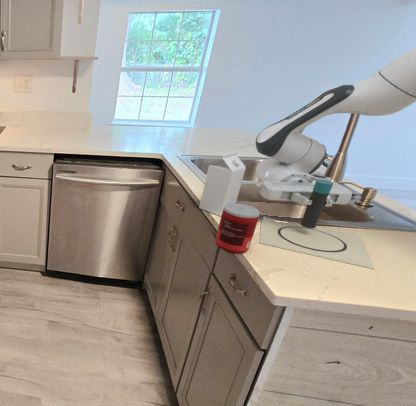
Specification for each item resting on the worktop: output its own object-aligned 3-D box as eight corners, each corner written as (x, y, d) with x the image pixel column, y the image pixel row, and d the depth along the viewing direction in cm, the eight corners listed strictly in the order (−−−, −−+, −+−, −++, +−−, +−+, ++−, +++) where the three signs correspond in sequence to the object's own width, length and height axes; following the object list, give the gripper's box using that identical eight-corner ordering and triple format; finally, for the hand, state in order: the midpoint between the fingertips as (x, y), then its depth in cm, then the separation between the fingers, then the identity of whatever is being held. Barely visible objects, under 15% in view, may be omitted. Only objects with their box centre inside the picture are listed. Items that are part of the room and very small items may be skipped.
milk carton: (198, 208, 120) (211, 152, 112) (211, 204, 123) (225, 149, 115) (220, 216, 114) (235, 158, 106) (233, 211, 117) (249, 154, 109)
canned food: (239, 240, 100) (250, 203, 96) (254, 255, 93) (267, 216, 89) (209, 238, 102) (218, 202, 97) (221, 253, 95) (232, 215, 90)
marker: (315, 225, 101) (332, 181, 96) (316, 229, 99) (333, 185, 93) (299, 222, 103) (315, 178, 98) (300, 226, 101) (316, 182, 95)
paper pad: (360, 235, 101) (360, 234, 100) (374, 269, 86) (374, 267, 86) (261, 216, 113) (262, 215, 113) (259, 243, 98) (259, 242, 98)
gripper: (255, 173, 111) (277, 190, 98) (335, 177, 106) (369, 195, 94) (249, 192, 113) (270, 211, 101) (327, 197, 108) (360, 217, 96)
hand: (319, 203), depth 97 cm, fingers closed on marker, 3 cm apart
